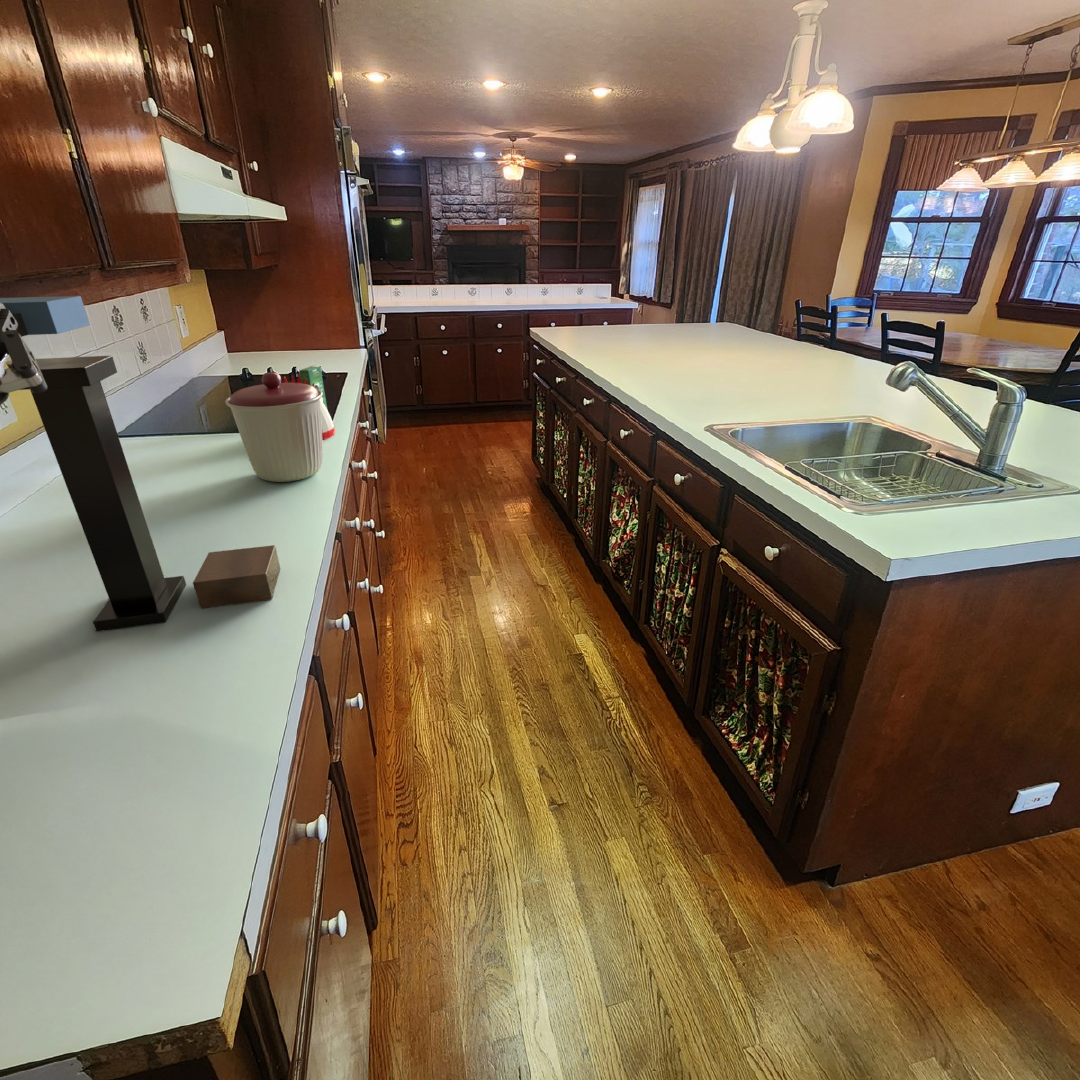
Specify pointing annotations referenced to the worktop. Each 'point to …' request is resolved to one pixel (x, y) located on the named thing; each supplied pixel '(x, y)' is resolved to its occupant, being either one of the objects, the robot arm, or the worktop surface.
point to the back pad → (47, 314)
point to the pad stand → (104, 492)
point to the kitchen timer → (325, 416)
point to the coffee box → (314, 379)
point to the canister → (280, 428)
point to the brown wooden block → (237, 576)
